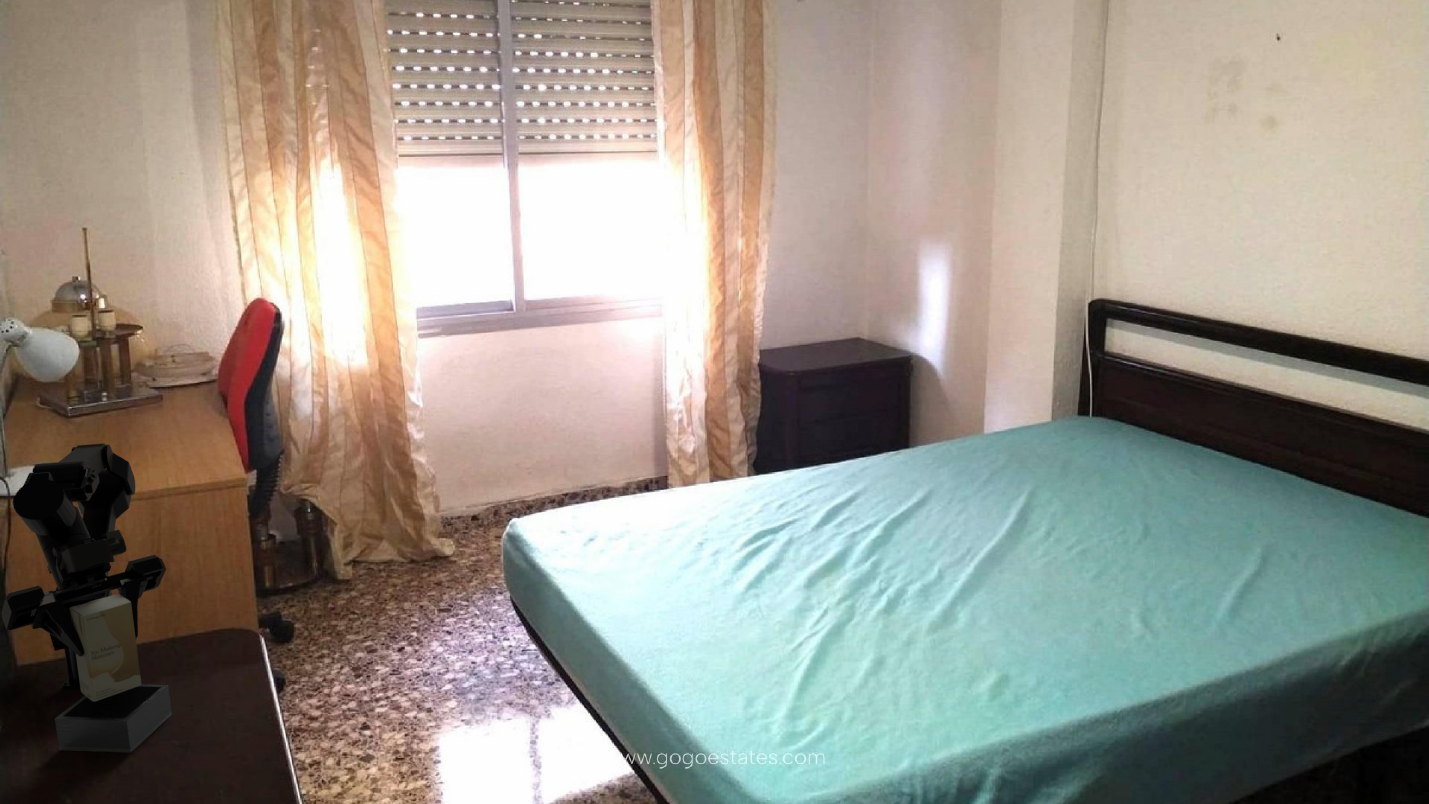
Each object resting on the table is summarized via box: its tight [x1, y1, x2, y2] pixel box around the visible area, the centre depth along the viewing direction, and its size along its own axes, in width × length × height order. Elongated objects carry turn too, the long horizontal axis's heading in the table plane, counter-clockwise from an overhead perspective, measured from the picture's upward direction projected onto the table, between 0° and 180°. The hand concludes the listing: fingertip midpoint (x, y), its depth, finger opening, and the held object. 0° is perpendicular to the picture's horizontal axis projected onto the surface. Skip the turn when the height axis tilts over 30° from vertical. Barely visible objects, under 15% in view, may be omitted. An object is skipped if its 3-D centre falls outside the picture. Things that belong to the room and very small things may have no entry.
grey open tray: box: [54, 683, 173, 753], centre depth 142 cm, size 10×10×4 cm
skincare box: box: [70, 593, 142, 702], centre depth 140 cm, size 6×4×12 cm
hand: (109, 646), depth 139 cm, fingers closed on skincare box, 6 cm apart
